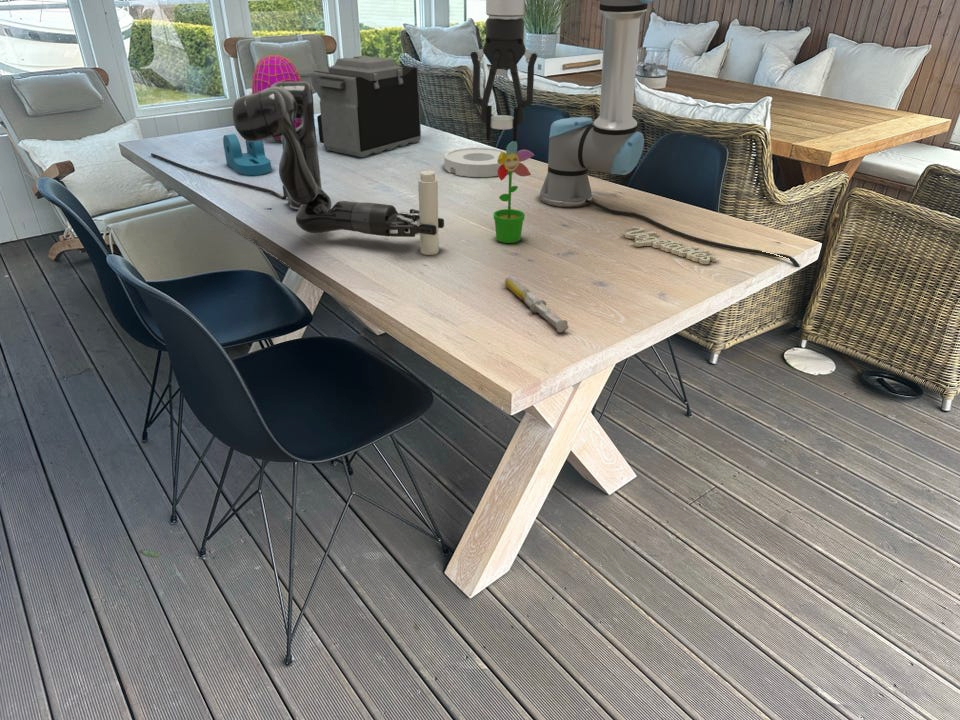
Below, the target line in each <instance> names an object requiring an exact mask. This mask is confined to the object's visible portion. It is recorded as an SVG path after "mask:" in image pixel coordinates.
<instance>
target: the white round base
mask: <svg viewBox="0 0 960 720" xmlns="http://www.w3.org/2000/svg"><path fill="white" fill-rule="evenodd" d="M501 152H505V153H506V150H503V149H499V148H492V147H480V146H479V147H463V148H456V149H453V150H449V151H446V152H445V153H444V156H443V158H444V163H443V164H444V170H445V171H446V172H448V173H450V174H455V175H457V176H460V177H461V176H462V177H467V178H468V177H470V178H490V177H499V176H498V168H499V167H500V166H501V165H502V164H499V163H498V162H497V160H498V157H499V155H500V153H501ZM506 154H507V153H506ZM508 174H509V171H508Z"/></svg>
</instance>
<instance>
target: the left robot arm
mask: <svg viewBox="0 0 960 720" xmlns="http://www.w3.org/2000/svg"><path fill="white" fill-rule="evenodd" d="M314 107H315V106H314V94H313V89H312V85H311V84H310V83H309V82H307V81H302V82H277V83H274V84H273V85H272V86H271V87H269V88H266V89H264V90H262V91H261V92H259V93H255V94H252V93H251V94H247V95H243V96H240V97H238V98H236V99H235V100H234V102H233V104H232V107H231V119H232V123H233V126H234V128H235V131H237V133H238V134H239V136H240V137H241V138H242V139H244V140H245V141H246V140H247V141H249V142H258V141H263V142H264V141H266V140H271V139H273V138H275V137H279V136H282V137H281V140H282V141H281V146H282V153H281V157H280V159H279V160H280V161H279V165H278V174H279V175H278V176H279V179H280V182H281V183H282V193H283V196H281V195H280V194H278V193H277V192H276V191H274V190H272V189H268V188H266V187H261V186H257V185H254V184H253V185H252V184H250V183H245V182H241V181H237V180H233V179H230V178H226V177H222V176H219V175H214V174H212V173H207V172H204V171H201V170H198V169H195V168H193V167H189V166H186V165H183V164H181V163H178V162H176V161H173V160H170V159H168V158H165V157H164V156H160V155H158V154H155V153H151V154H150V156H152V157H155V158H156V159H159V160H162V161H164V162H167V163H169V164H172V165H175V166H177V167H179V168H182V169H184V170H188V171H190V172H193V173H196V174H200V175H203V176H206V177H210V178H212V179H216V180H219V181H224V182H228V183H231V184H235V185H238V186H243V187H246V188H249V189H254V190H258V191H262V192H267V193H270V194H272V195H274V196H275V197H277V198H279V199H281V200H286V199H287V201H288V205H289V208H290V209H291V210H295V211H297V212H296V215H295V222H296V225H297V226H298V227H299V228H300V229H301V230H303V231H304V232H306V233H310V234H324V233H329V232H337V231H351V232H357V233H361V234H366V235H373V236H380V237H381V236H382V237H387V238H388V237H393V238H395V237H396V238H397V237H398V238H399V237H401V238H402V237H403V238H415V237H416V235H417V236H420V234H429V235H435V234H436V233H437V227H436V226H435V225H428V224H421V225H420V220H419V209H414V208H411V209H409V212H407V211H401V212H398V211H397V209H396V207H395V206H394V205H392V204H384V203H374V202H366V201H365V202H358V201H348V200H339V201H336V203H335V204H334V205H333V203H332V199H331V197H330V196H329V195H328V194H327V193H326V192H325V191H324V189H323V187H322V179H321V168H320V159H319V151H318V144H317V133H316V123H315V122H316V121H315V108H314ZM294 119H302V124H301V125H300V126H298V127H297V128H295V126H294V123H293V120H294ZM444 227H445V219H444V218H443V217H441V218H440V217H438V229H443V228H444Z"/></svg>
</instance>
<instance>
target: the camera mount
mask: <svg viewBox="0 0 960 720" xmlns="http://www.w3.org/2000/svg"><path fill="white" fill-rule="evenodd" d="M222 140H223V141H222V143H223V149H224V150H223V151H224V156H225V161H226V165H227V166H228V167H230V168H231V169H232V170H234V171H236V172H237V173H238V174H239V175H244V176H260V175H265V174H268V173H271V172H272V164H271V159H270V158H268V157H267V156H266V153H265V145H264V140H263V141H258V142H249V141H247V140H245V146H246V152H243V151H242V150H243V149H242V146H241V142H240V140H239V138H238V135H236V134H235V133H231V134H224V135H223V138H222Z"/></svg>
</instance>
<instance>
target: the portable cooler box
mask: <svg viewBox="0 0 960 720" xmlns="http://www.w3.org/2000/svg"><path fill="white" fill-rule="evenodd" d="M310 79H311V87H313V90H314V91H315V93H316V94H317V96H318V98H319V110H320V111H319V112H320V114H319V115H317V116H316V119H317V128H318V138H319V143H320V144H323V146H324V149H325V150H327V151H330V152H335V153H340V154H344V155H348V156H353V157H357V158H362V159H363V158H366V157H367V158H368V157H369V155H371V154H375V155H377V154H381V153H382V152H383V151H391V150H395V149H396V148H397V147H405V146H407V145H408V144H416V143H418V142H419V141H421V137H422V128H421V97H420V92H419V91H420V89H419V68H418V67H417V66H408V65H400V64H396V62H395V60H394V59H393V58H385V57H377V56H367V55H356V56H353V57H350V58H349V57H343V58H342V57H341V58H337V59H336V60H335V63H334V64H333V65H330V66H329V67H328V72H327V71H320V70H314V71H313V70H312V71H310Z"/></svg>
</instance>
